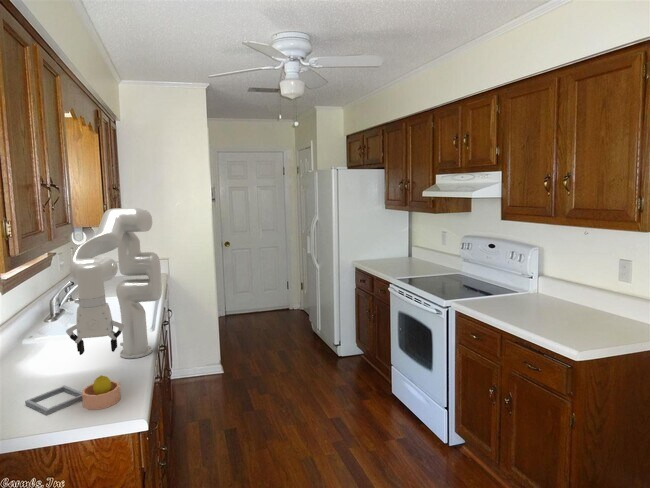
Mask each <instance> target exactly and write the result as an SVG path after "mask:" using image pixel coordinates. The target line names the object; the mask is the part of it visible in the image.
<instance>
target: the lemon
mask: <svg viewBox="0 0 650 488" xmlns="http://www.w3.org/2000/svg"><path fill="white" fill-rule="evenodd" d="M111 381H112V380H111V379H110V378H109V377H108V376H105V375H103V374H101V375H99V376H97V377H96V379H95V380H94V381H93V383H94V384H93V383H92V384H93V391H94V394H95V395H99V394H104V393H107V392H110V391H111V388H112V385H111Z"/></svg>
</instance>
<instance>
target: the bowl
mask: <svg viewBox="0 0 650 488" xmlns="http://www.w3.org/2000/svg"><path fill="white" fill-rule="evenodd" d="M110 381H111V385H112V388H111V391H110V392H107V393H104V394H99V395H95V394H94V391H93V384H94V382H93V383H91V384H88V385H86V386H85V387H84V388H82V389H81V392H82V399H83V400H82V407H83V408H84V409H87V410H100V409H106V408H109V407H112V406H114V405H116V404H117V403H118V402H120V400H121V399H122V396H121V387H120V386H121V385H120V383H119V382H118V381H115V380H110Z"/></svg>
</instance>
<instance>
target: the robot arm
mask: <svg viewBox="0 0 650 488" xmlns="http://www.w3.org/2000/svg"><path fill="white" fill-rule="evenodd" d="M152 217H153V216H152V215H151V213H150V211H148V210H146V209H142V208H137V207H136V208H135V207H124V208H123V207H121V208H119V207H116V208H109V209H107V210H105V212H104V213H103V215H102V218H101V219H100V223H99V226H98V228H97V230H96V234H95V235H94V236H91V238H89V239H88V240H85V242H83V243H82V244H80V245H79V246H78V247H77V249H76V250H75V251H74V253H73V256H72V258H71V261H70V264H69V270H68V271H69V276H70V278H71V279H72V280H74V281H76V282H77V291H78V292H77V293H78V298H76V299H75V298H74V304H78V307H76V308H77V309H76V323H75V324H74V325H72V326H71V327H69V328H67V329H66V331H65V333H66V334H67V335H68V336H69V338H70V339H71V340H72V341H74V343H75V344H76V348H77V352H78V353H79V356H81V355H83V354H84V353H85V344H84V343H85V342H84V340H83V339H88V338H89V339H90V338H101V337H102V338H103V337H107V336H108V337H109V338H111V339H110V348H111V350H110V351H111V352H112V353H114V352H115V351H116V349H117V348H118V339H117V338H118V337H119V336H120V335H121V334H122V342H120V343H119V346H120V347H122V350H120V352H119V355H120V357H121V358H123V359H138V358H143V357H145V356H148V355H150V354H152V352H153V347H152V346H150V345H149V341H148V339H149V338H148V330H147V329H148V328H147V327H148V326H147V315H146V310H145V308H144V306H143V305H142V304H141V303H145V302H146V303H148V302H157V301H159V300H160V299H161V298H162V291H163V290H162V270H161V269H162V268H161V261H160V256H159V255H158V254H157V253H155V252H151V251H145V252H143V251H141V241H140V238H139V237H138V235H137V234H136V233H141V232H145V233H146V232H149V231H151V229H152V226H153V218H152ZM115 249H117V253H118V254H117V255H118V264H117V262H116V260H115V259H113V258H111V257H97V256H100V255H104V254H106V253H109V252H111V251H114V250H115ZM118 270H119V273H120V274H121V275H122V276H124V277H125V276H126V277H134V276H135V277H137V276H138V277H140V276H146V277H147V278H130V279H129V278H126V279H123V280H121V281H119V282H118V283H117V284H116V287H115V294H116V297H117V300H118V305H119V310H120V321H121V322H118V321H116V320H113V316H112V312H111V309H110V305H109V303H108V302H107V301H106V291H105V290H106V289H105V283H104V282H107V281H111V280H112V279H114V278H115V276H116V275H117V273H118ZM114 327H115V328H117V329H118V330H117V331H116V332H115V331H114ZM74 331H76V333H74Z"/></svg>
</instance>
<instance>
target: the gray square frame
mask: <svg viewBox="0 0 650 488" xmlns="http://www.w3.org/2000/svg"><path fill="white" fill-rule="evenodd" d="M62 392H64V393H67V394H70V395H72V396H74V397H72V398H70V399H67V400H65V401H63V402H60V403H58V404H55V405H53V406H51V407H46V406H44V405H41V404H39V403H38V402H40V401H43V400H45V399H48V398H50V397H53V396H56V395H58V394H60V393H62ZM81 401H83V399H82V391H81V390H77V389H74V388H71V387H70V386H68V385H62V386H59V387H57V388H55V389H51V390H50V391H47V392H44V393H41V394H39V395H37V396H34V397H31V398H29V399H25V401H24V402H25V403H24V404H25V406H27V407H29V408H31V409H32V410H35V411H37V412H39V413H41V414H44V415H46V416H48V415H51V414H53V413H55V412H57V411H60V410H62V409H65V408H68V407H70V406H72V405H74V404H76V403H78V402H81Z"/></svg>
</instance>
